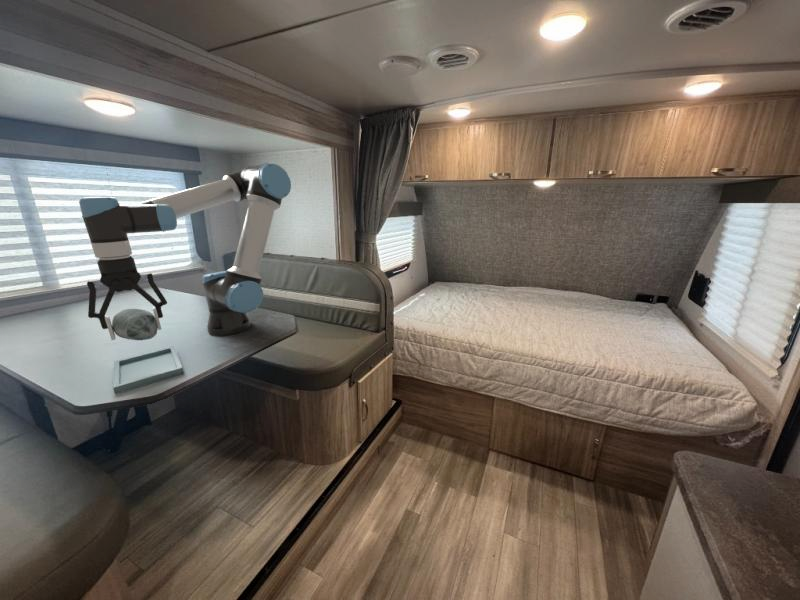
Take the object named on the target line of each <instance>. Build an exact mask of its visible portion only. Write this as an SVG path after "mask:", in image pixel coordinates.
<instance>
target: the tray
mask: <svg viewBox="0 0 800 600" xmlns="http://www.w3.org/2000/svg"><path fill="white" fill-rule="evenodd" d="M113 361H114V362H113V383H112V385H113V386H112V388H113V391H114V394H115V395H117V394H121V393H124V392H128V391H130V390H134V389H137V388H140V387H144V386H147V385H150V384H153V383H157V382H160V381H163V380H167V379H170V378H173V377H177V376H180V375H183V374H184V373H185V372H184V369H183V365H182V363H181V360H180V358H179V354H178V352H177V350H176V348H175V346H174V345H173V346H169V347H165V348H159V349H157V350H153V351H148V352H145V353H141V354H138V355H133V356H130V357H126V358H122V359H117V360H113Z"/></svg>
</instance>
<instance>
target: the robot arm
mask: <svg viewBox="0 0 800 600" xmlns="http://www.w3.org/2000/svg"><path fill="white" fill-rule="evenodd" d="M291 189H292V183H291V177H289V174H288V172H287V171H286V170H285V168H283V167H282V166H280V165H279V164H276V163H268V162H267V163H262V164H257V165H250V166H247V167H245V168H244V167H243V168H242V169H240V170H238V171H234V172H232V173H229V174H225V175H224V176H223V177H222V179H219V180H216V181H213V182H209V183H205V184H201V185H198V186H195V187H192V188H191V187H190V188H187V189H183V190H180V191H176V192H174V193H170V194H167V195H166V194H165V195H163V196H162V195H161V196H159V197H156V198H155V197H154V198H152V199H148V200H145V201H142V202H137V203H134V204H132V203H130V204H127V205H126V204H120V202H119V201H118V199H117V198H116V197H113V196H112V197H110V196H109V197H106V196H104V197H103V196H101V197H99V196H97V197H92V196H90V197H82V198H80V199H79V202H78V203H79V207H80V212H81V214H82V215H81V218H82V219H83V222H84V225H85V229H86V230H87V234H88V238H89V240H90V244H91V248H92V250H93V254H94V257H95V258H96V259H97V260H96V262H97V266H98V269H99V270H98V271H99V273H100V278H99V279H93V280H92V279H89V280H88V281H87V283H86V285H87V287H88V290H89V294H88V295H89V296H88V297H89V298H88V310H87V311H88V312H87V314H88V315H87V316H88V318H90V319H92V318H95V319H98V321H99V323H100V326H101V328H102V329H103V330H108V333H109V337H110V339H111V341H114V340H116V334H115V332H114V330H113V327H112V321H111V318H110V315H109V314H108V315H107V312H108V309H109V307H110V304H111V302H112V299H113V297H114V294H115V292H117V293H119V292H121V293H122V292H123V291H124V292H125V291H132V290H135V292H137V293H138V294H140V295H141V296H142V297H143V298H144V299H145V300H147V302H149V303H150V304H151V305H152V307H151V308H152V311H153V315H154V316H155V318H156V321H157V325H158V330H157V331H161V330H162V326H161V322H160V319H162V318H163V316H164V315H163V310H162V307H163V306H165V305H167V304H168V301H167V299H166V297H165V296H164V295H163V293H162V291H161V290H160V288H159V287H158V285H157V284H156V283H155V280H154V275H153V273H152V272H147V273H140V272H138V270H137V269H138V268H137V265H136V263H135V258H134V257H133V256H132V254H133V252H132V248H131V244H130V241H129V238H128V234H138V233H141V234H142V233H156V232H169V231H170V232H171V231H175V230H176V229H177V226H178V220H177V219H180V218H182V217H186V216H189V215H192V214H195V213H199V212H201V211H205V210H207V209H211V208H213V207H216V206H219V205H223V204H226V203H229V202H232V201H234V202H236V203H237V202H238V203H239V202H241V201H245V200H248V206H247V209H246V214H245V218H244V222H243V225H242V229H241V233H240V237H239V241H238V242H239V243H238V245H237V249H236V252H235V257H234V262H233V265H232V267H230V268H228V269H226V270H223V271H217V272H211V273H206V274H204V275H203V276H202V278H201V279H202V286H203V290H204V294H205V299H206V303H207V304H206V305H207V308H208V314H209V315H208V321H207V325H206V326H207V327H206V328H207V332H208V334H209V335H211V336H218V337H219V336H220V337H221V336H229V335H234V334H238V333H240V332H243V331H246V330H248V329H249V328H250V327H251V326H252V325H251V319H250V317H249V316H248V314H247V313H250V312H253V311H255V310H256V309H257V308H258V307H260V306H261V304H262V301H263V300H264V289H262V287H261V283H262V276H261V275H260V269H261V265H262V261H263V257H264V252H265V248H266V245H267V241H268V238H269V233H270V230H271V225H272V221H273V218H274V213H275V211H276V210H278V209H279V208H281V205H282V201H283V199H285V198H286V197H287V196H288V195H290V192H291ZM141 279H143V280H144V281H145V282H148V284H149V285H150V287H151V289H152V290H153V292H154V293H155V295H156V296H157V298H158V300H159V301H158V300H156V299H155V298H154V297H153V296H152V295H151V294H150V293H148V292H147V291H146V290H145V289H144V288H143V287H142V286H140V284H138V283H139V281H140V280H141ZM100 284H102V285H104V286H105V287H107V288H108V290H107V293H106V296H105V298H104V300H103V303H102V304H101V308H100V309H99V311H96V307H97V306H96V305H97V303H96V302H97V292H98V291H97V290H98V288H99V287H100Z"/></svg>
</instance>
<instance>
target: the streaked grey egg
mask: <svg viewBox="0 0 800 600" xmlns="http://www.w3.org/2000/svg"><path fill="white" fill-rule="evenodd" d="M111 324H112V327H113V330H114V333H115V336H117V337H119V338H122V339H125V340H131V341H145V340H146V341H147V340H150V339H152V338H154V337H155V336H157V333H158V331H159V330H158V325H157V321H156V318H155V316H154V313H152V312H151V311H148V310H146V309H141V308H125V309H122V310H120V311H118V312H116V314H115V315H114V316H113V317H112V321H111Z"/></svg>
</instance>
